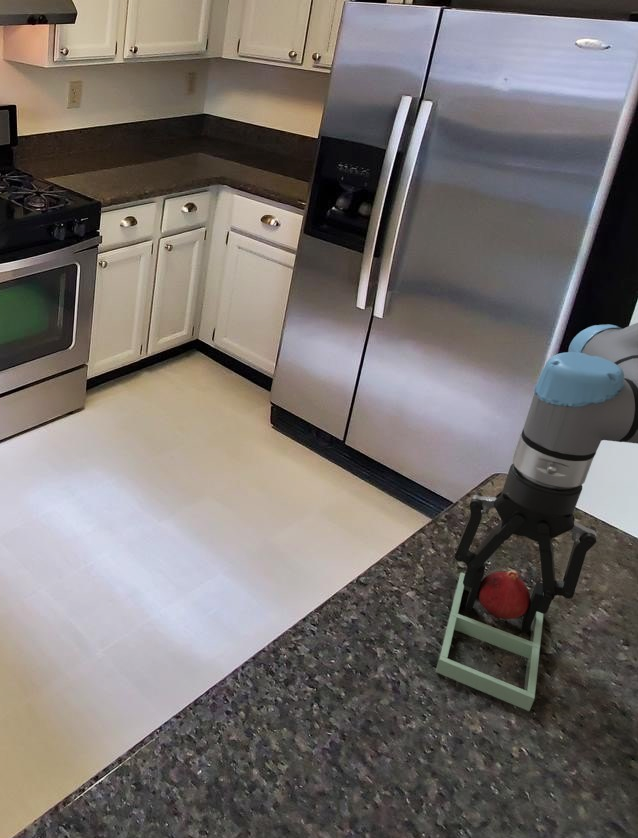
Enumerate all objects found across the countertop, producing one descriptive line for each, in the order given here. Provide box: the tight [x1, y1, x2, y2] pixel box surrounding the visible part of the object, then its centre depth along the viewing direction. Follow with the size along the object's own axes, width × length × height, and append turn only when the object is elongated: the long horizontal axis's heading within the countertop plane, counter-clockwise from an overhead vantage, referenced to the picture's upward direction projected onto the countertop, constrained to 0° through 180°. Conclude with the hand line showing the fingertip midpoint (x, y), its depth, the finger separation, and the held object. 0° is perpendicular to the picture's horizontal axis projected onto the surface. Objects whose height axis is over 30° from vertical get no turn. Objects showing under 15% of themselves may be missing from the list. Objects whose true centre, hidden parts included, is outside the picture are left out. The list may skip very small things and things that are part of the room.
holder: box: [435, 572, 544, 712], centre depth 105 cm, size 19×10×3 cm, turn 144°
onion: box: [477, 569, 531, 620], centre depth 106 cm, size 6×6×8 cm
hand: (496, 615), depth 108 cm, fingers closed on onion, 6 cm apart
